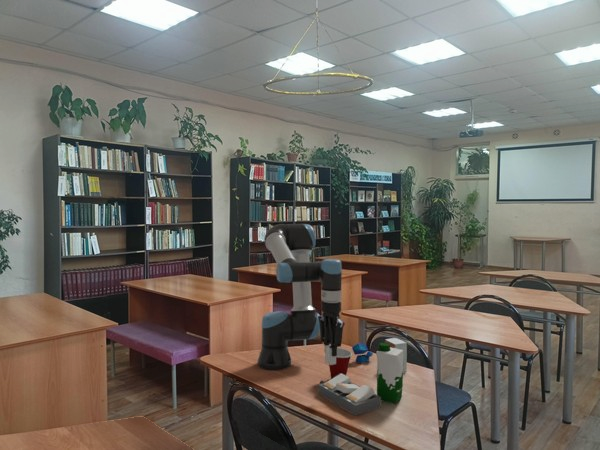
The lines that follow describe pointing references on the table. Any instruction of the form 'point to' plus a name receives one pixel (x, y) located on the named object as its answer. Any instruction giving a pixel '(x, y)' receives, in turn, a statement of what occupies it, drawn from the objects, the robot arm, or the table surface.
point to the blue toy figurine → (361, 350)
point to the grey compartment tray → (346, 404)
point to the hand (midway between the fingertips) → (330, 363)
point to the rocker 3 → (360, 394)
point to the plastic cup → (340, 362)
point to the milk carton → (389, 373)
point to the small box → (399, 345)
